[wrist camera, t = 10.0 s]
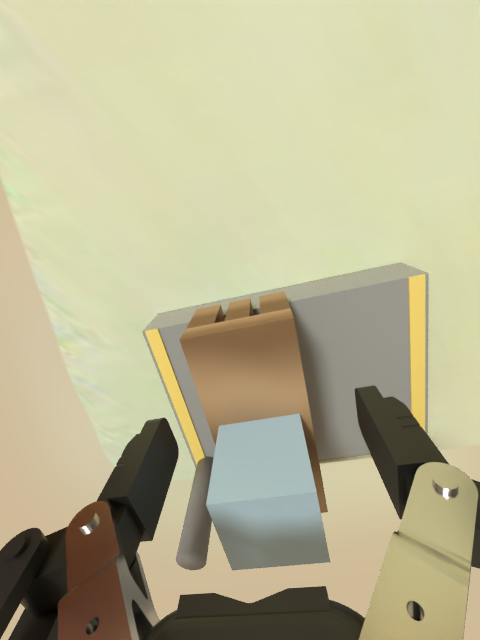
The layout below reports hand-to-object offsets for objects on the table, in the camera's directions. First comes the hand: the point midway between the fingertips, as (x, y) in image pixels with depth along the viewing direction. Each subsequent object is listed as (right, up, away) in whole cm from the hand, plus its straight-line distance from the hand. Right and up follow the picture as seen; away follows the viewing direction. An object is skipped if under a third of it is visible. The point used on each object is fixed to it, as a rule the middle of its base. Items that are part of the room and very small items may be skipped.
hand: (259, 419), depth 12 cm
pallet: (+1, 0, +6) cm, 6 cm away
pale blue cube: (+1, -3, +3) cm, 4 cm away
